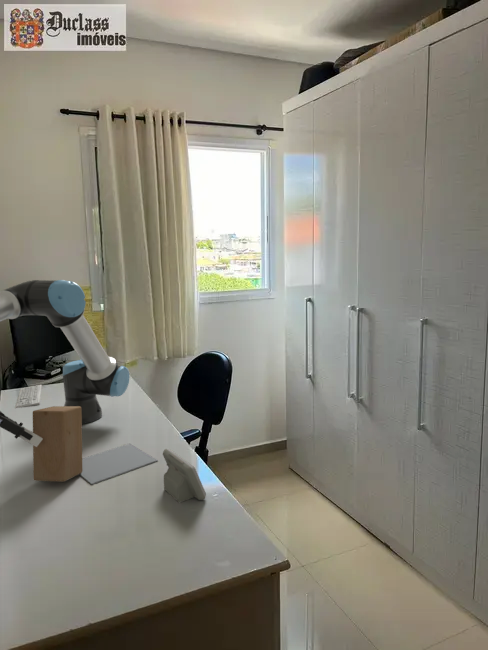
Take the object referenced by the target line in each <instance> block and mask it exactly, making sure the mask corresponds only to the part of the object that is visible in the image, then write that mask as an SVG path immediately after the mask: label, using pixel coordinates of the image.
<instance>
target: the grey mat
mask: <svg viewBox="0 0 488 650" xmlns="http://www.w3.org/2000/svg"><path fill="white" fill-rule="evenodd" d="M156 462H157V463H158V459H157V458H156V457H153V456H151V455H150V454H148V453H147V452H145V451H143V450H142V449H140V448H138V447H137V446H135V444H132V443H127V444H123V445H121V446H117V447H114V448H111V449H108V450H104V451H101V452H99V453H96V454H92V455H89V456H86V457H85V456H84V457H82V473H80V474H78V475H79V476H80V477H82V479H84V480H85V481H86V482H87V483H89V485H92V486H93V485H96V484H99V483H101V482H104V481H107V480H110V479H112V478H115V477H118V476H120V475H123V474H126V473H129V472H133V471H134V470H138V469H140V468H143V467H145V466H148V465H150V464H155V463H156Z"/></svg>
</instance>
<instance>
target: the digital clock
mask: <svg viewBox="0 0 488 650" xmlns="http://www.w3.org/2000/svg"><path fill="white" fill-rule="evenodd" d="M162 456H163V458H164V461H165V462H166V466H167V467H168V469H167V470H166V472H164V474H163V489H164V490H165V491H166V492H167V493H168V494H169V495H170V496H171V497H172V498H173V499H175V500H176V501H177V502H178V503H182V502H185V501H187V500H190V499H193V498H195V499H197V500H198V501H204V500H205V499H206V497H207V493H206V491H205V488H204V485H203V484H202V481H201V479H200V476H199V474H198V471H197V469H196V467H194V465H193V464H192V463H191V462H189V461H187V460H186V459H184V458H183V457H182V456H180V455H179V454H178V453H177V452H175V451H173V450H172V449H171V448H165V449H164V450H163V451H162Z"/></svg>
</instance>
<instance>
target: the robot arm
mask: <svg viewBox="0 0 488 650" xmlns="http://www.w3.org/2000/svg"><path fill="white" fill-rule="evenodd" d="M85 299H86V295H85V292H84V291H83V289H82V287H81V286H80V285H79V284H78V283H76V282H74V281H73V280H65V279H58V280H57V279H56V280H54V279H53V280H52V279H50V280H45V279H43V280H42V279H41V280H40V279H32V280H28V281H27V280H26V281H24V282H20V283H18V284H16V285H13V286H11V287H9V288H5V289H2V290H0V322H2V321H5V320H7V319H8V320H14V319H17V318H19V317H22V316H43V317H44V316H45V317H47V319H48V320H49V321H50V323H51V325H52V326H54V327H55V328H60V330H61V332H63V334H64V335H65V337H66V339H67V340H68V342H69V343H70V345H71V346H72V348H73V349H74V351H75V352H76V354H77V355H78V357H79V359H77V360H73V361H70V362H67V363H65V364H64V365H63V366H62V379H63V389H64V390H63V391H64V399H65V401H64V405H63V406H80V407H81V414H82V424H88V423H93V422H95V421H98V420H99V419H100V418H102V416H103V412H102V411H103V409H102V407H101V405H100V402H99V400H98V398H97V396H105V397H121V396H123V395H124V394H125V393H126V391H127V390H128V386H129V384H130V371H129V368H127V367H126V366H124V365H119V364H118V362H117V361H116V359H115V358H114V357H113V356H109V355H108V354H107V352H106V351H105V349H104V347H103V346H102V344H101V342H100V341H99V339H98V337H97V335H96V334H95V332H94V331H93V328H92V327H91V326H90V324H89V322H88V321H87V319H86V317H85V315H84V314H85V309H86V301H87V300H85ZM23 425H24V423H23V422H20V423H18V422H17V421H15V420H13V419H12V418H10V417H9V416H7V415H5V414H4V413H3V412H2V411H1V410H0V428H1V429H3V430H5V431H7V432H8V433H11V434H12V435H14V438H15V439H18V438H19V439H21V440H24V441H25V442H27V443H29V444H31V445H32V446H33V445H34V446H35V447H37V446H38V445H39V443H40V442H41V441H42V440H43V438H41V437H40V436H38V435H36V434H35V433H33V431H31V430H30V429H28V428H26V427H24V426H23Z"/></svg>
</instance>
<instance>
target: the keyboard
mask: <svg viewBox="0 0 488 650" xmlns="http://www.w3.org/2000/svg"><path fill="white" fill-rule="evenodd" d="M42 387H43V385H42V384H36V385H31V386H30V385H29V386H27V387H21V388H20V389H19V391H18V396H17V398H16V402H15V406H14V409H18V408H26V407H33V406H34V407H35V406H39V405H40V403H41V396H42V389H43V388H42Z"/></svg>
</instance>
